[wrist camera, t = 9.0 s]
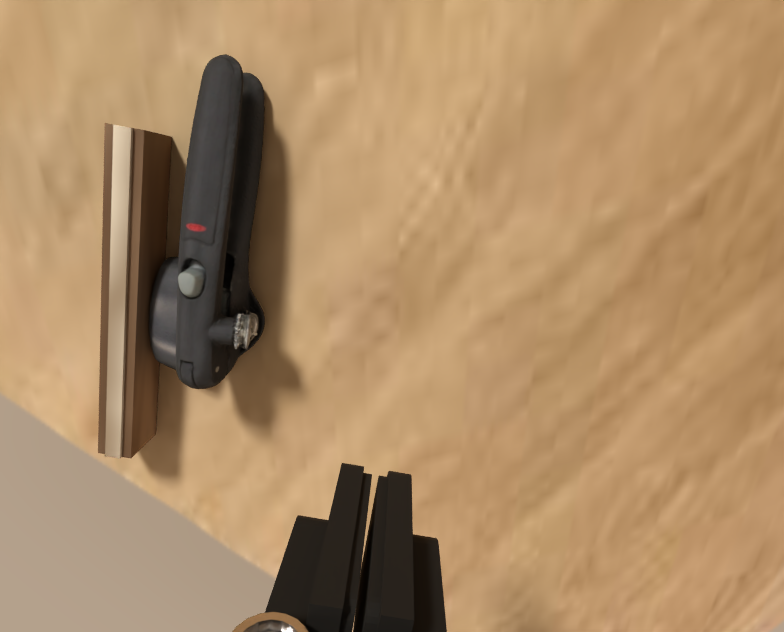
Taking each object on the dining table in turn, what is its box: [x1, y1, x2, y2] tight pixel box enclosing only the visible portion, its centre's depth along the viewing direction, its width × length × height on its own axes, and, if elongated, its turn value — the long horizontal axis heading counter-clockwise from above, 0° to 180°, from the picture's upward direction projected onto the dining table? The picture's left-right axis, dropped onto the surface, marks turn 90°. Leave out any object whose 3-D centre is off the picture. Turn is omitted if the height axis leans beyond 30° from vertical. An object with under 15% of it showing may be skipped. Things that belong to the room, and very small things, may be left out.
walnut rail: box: [98, 123, 172, 458], centre depth 28 cm, size 2×19×3 cm, turn 170°
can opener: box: [149, 55, 265, 389], centre depth 26 cm, size 18×7×6 cm, turn 167°
